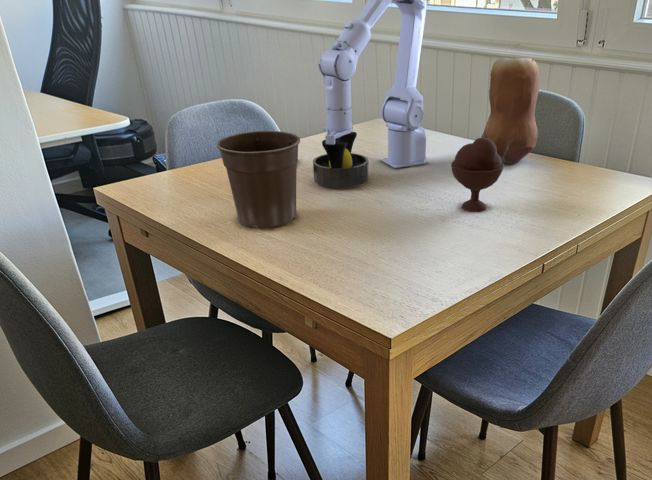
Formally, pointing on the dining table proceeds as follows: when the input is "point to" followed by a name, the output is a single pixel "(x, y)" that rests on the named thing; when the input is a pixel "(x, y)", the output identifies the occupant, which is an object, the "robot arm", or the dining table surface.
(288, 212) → the plant pot
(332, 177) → the bowl
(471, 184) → the ice cream bowl
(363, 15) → the robot arm
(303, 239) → the dining table surface
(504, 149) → the butternut squash
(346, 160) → the lemon
